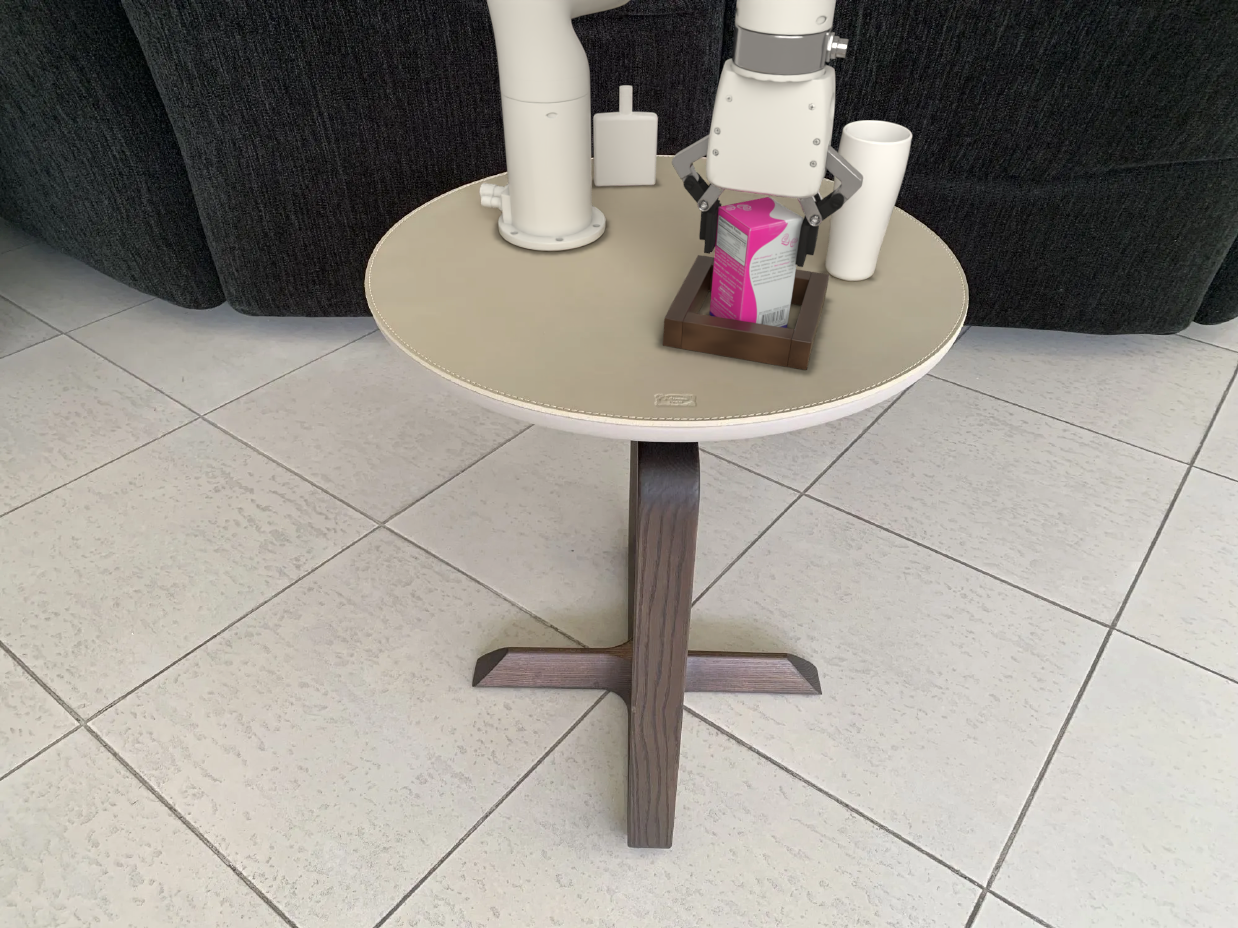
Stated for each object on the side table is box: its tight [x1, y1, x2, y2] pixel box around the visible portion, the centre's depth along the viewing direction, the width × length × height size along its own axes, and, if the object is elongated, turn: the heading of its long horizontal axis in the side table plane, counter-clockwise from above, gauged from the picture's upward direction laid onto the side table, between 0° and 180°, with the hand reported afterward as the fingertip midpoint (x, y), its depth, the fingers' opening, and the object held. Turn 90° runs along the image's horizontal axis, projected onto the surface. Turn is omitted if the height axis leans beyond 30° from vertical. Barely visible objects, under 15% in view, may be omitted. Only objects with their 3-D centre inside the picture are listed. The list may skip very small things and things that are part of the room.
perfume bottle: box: [592, 84, 659, 187], centre depth 105 cm, size 8×2×12 cm, turn 95°
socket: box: [662, 254, 830, 371], centre depth 81 cm, size 14×14×3 cm
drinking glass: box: [824, 119, 913, 282], centre depth 86 cm, size 7×7×15 cm
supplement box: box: [709, 196, 804, 328], centre depth 79 cm, size 6×6×12 cm
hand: (755, 253), depth 78 cm, fingers closed on supplement box, 8 cm apart
